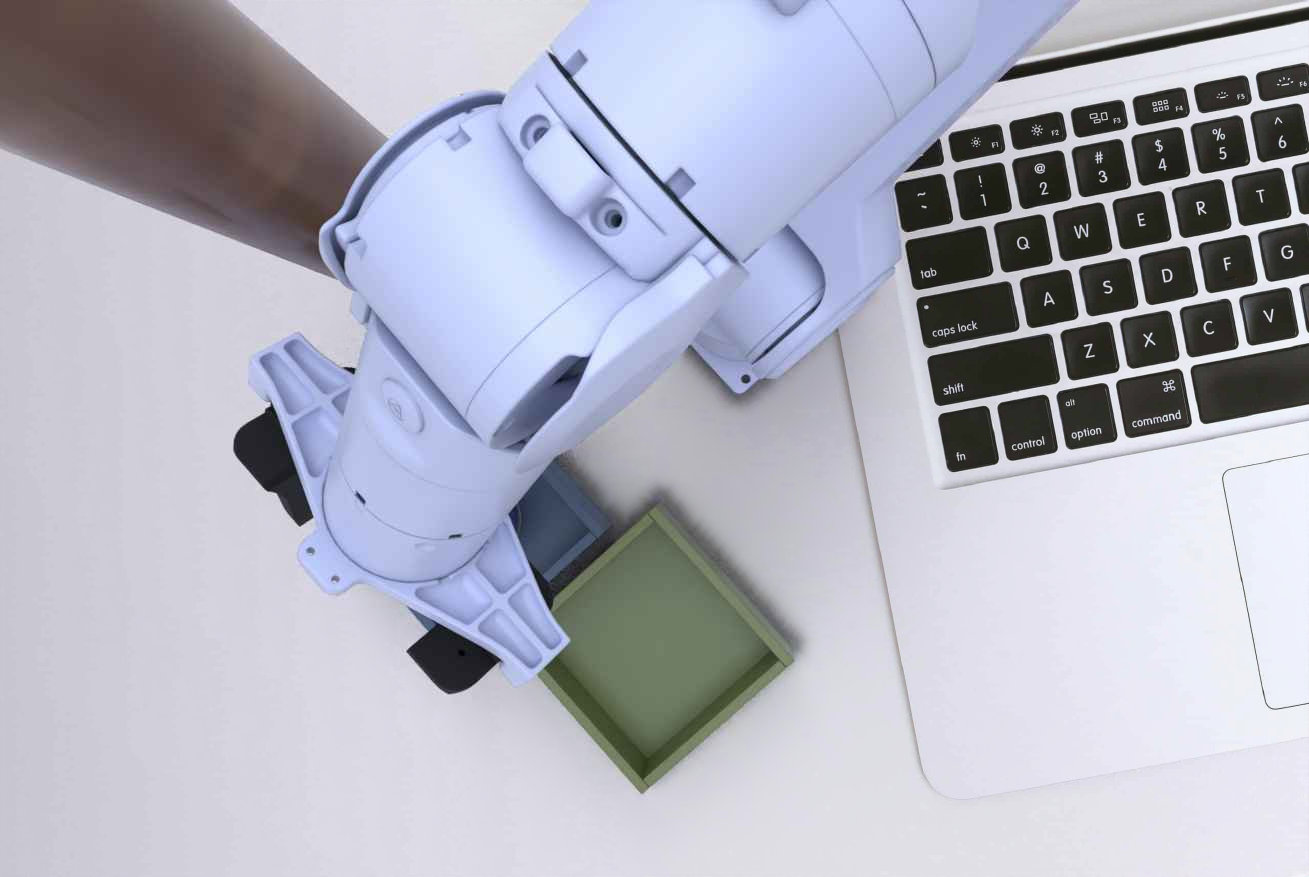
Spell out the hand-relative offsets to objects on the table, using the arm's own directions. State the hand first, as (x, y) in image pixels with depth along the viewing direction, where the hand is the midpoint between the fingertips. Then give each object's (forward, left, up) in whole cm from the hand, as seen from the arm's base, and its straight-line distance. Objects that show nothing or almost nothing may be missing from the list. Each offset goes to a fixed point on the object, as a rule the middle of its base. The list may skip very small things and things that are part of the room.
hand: (373, 574), depth 37 cm
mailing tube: (-11, -8, -14) cm, 20 cm away
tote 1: (-1, 0, -14) cm, 14 cm away
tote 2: (-4, +12, -14) cm, 19 cm away
